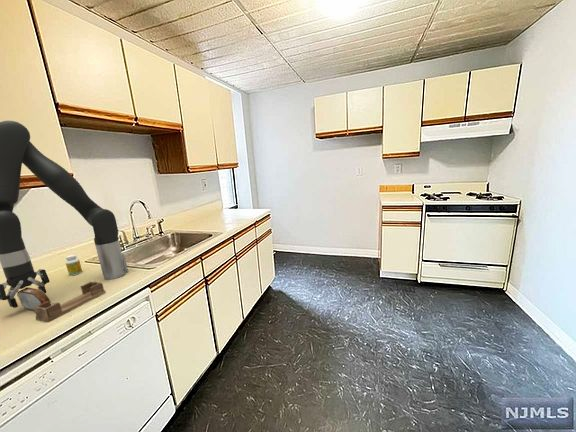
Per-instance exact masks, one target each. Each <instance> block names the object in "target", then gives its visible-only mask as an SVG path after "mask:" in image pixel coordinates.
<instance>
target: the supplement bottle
mask: <svg viewBox="0 0 576 432" xmlns="http://www.w3.org/2000/svg"><path fill="white" fill-rule="evenodd" d="M77 257H78V256H77V255H76V254H71V255H67V256H66V257H65V259H66V261H65V266H66V269H67V273H68V275H69V276H70V277H73V276H78V275H80V274H82V273H83V269H82V264H81V260H80V258H77Z"/></svg>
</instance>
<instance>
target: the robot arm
mask: <svg viewBox="0 0 576 432" xmlns="http://www.w3.org/2000/svg"><path fill="white" fill-rule="evenodd" d="M30 140H31V134H30V131H29V130H28V128H27V127H26V126H25V125H24V124H22V123H20V122H18V121H15V120H2V121H0V265H1V268H2V271H3V274H4V276H5V279H6V280H5V281H6V282H3V283H0V301H7V302H8V305H9V307H10V308H15V309H17V308H18V307H19V304H18V303H17V299H16V295H17V293H18V291H20V290H22V289H25V288H26V287H31V286H32V285H34V286H37V289H40V290H42V291H43V292H44V293H45V294H47V289H46V287H45V286H46V285H47V284H48V283H50V278H49V276H48V273H47V270H46V269H43V268H41V269H40V268H39V269H38V270H36V271H35V269H34V266H33V263H32V260H31V256H30V253H29V252H28V250H27V248H26V245H25V241H24V239H23V237H22V224H21V220H20V218H19V216H18V215H17V214H16V213H15V212H13V211H14V206H15V204H17V203H18V201H19V197H20V188H21V187H20V185H21V177H22V176H21V175H22V166H23V165H24V166H25V167H26V168H27V169H28V170H29V171H30V172H31V173H32V174H33V175H34V176H35V177H36V178H37V179H39V181H41V182H42V183H43V185H45V186H46V187H47V188H48V189H49V190H50V191H51V192H52V193H54V194H56V195H57V196H58V197H59V198H60V199H61V200H63V201H64V202H65V203H67V204H68V205H70V206H71V207H72V208H73V209H74V210H75V211H77V212H78V213H79V215H80V216H82V219H84V220H85V221H86V222H87V223H88V224H89V225H90V226H91V227H92V229H93V234H94V238H93V242H94V245H95V250H96V254H97V257H98V261H99V265H100V268H101V272H102V276H103V279H104V280H108V281H109V280H114V279H118V278H120V277H123V276H125V275H126V274H127V273H128V272H129V269H128V265H127V264H128V263H127V261H126V256H125V254H124V253H123V252H122V247H121V245H120V240H119V228H118V224H117V219H116V216H115V214H114V213H113V211H111V210H109V209H106V208H102V207H101V206H100V205H99V204H97V203H96V202H95V201H94V200H92V199H91V197H89V195H88V193H86V191H85V189H84V188H83V186H82V185H81V184H80V182H79V180H77V179H76V178H75V177H74V176H73V175H72V174H71V173H70V172H69V171H68V170H67V169H65V168H64V167H63V166H61V165H60V164H58V163H57V162H55V161H53V160H52V159H51V158H49V157H47V156H46V155H45V154H44V153H42V152H41V151H40V150H38V148H36V146H35V145H34V144H33V143H32V142H31V141H30ZM37 276H39V277H40V279H41V281H39V280H38V279H36V277H37ZM7 286H8V287H9V289H8V292H7V294H6V288H7Z"/></svg>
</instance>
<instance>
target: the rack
mask: <svg viewBox="0 0 576 432" xmlns="http://www.w3.org/2000/svg"><path fill="white" fill-rule="evenodd" d="M80 290H81V292H82V294H80V295H77V296H75V297H72V298H71V299H69V300H67V301H65V302H63V303H60V302H56V303H53V304H52V303H51V300H50V301H47V302H45V303H42V304H40V305H38V306H36V307H34V310H35V311H34V310H33V311H34V313H35V316H34V317H35V320H37V321H41V322H46V323H50V322H51V321H54V320H56V319H57V318H60V317H62V316H64V315H65V314H67V313H69V312H71V311H73V310H75V309H77V308H79V307H81V306H82V305H84V304H87V303H88V302H91V301H93V300H95V299H97V298H99V297H100V296H102V295H104V294H106V293H107V292H106V290H105V288H104V285H103V282H98V281H92V280H91V281H90V282H87V283H85V284H83V285H81V286H80Z"/></svg>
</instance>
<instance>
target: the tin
mask: <svg viewBox="0 0 576 432" xmlns="http://www.w3.org/2000/svg"><path fill="white" fill-rule="evenodd" d="M16 296H17V297H18V300H19V302H20V304H21V305H22V306H23V307H24V308H25V309H27V310H31V311H34V312H35V310H34V307H36V306H38V305H40V304H42V303H45V302H47V301H50V302H51V300H50V298H49V297H48V295H47V293H44V292H43V291H42V290H40V289H38V288H33V287H30V286H26V287H25V288H23V289H19V290H18V292H17V293H16Z"/></svg>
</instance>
